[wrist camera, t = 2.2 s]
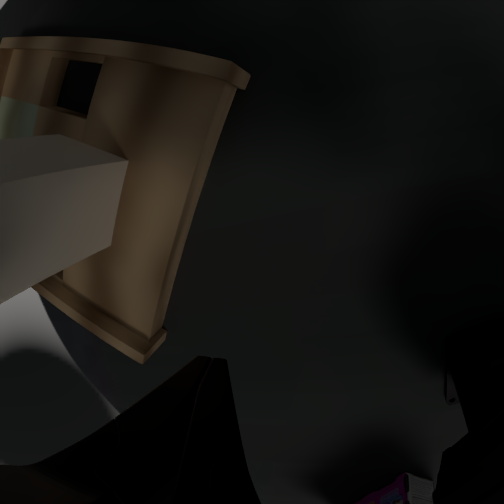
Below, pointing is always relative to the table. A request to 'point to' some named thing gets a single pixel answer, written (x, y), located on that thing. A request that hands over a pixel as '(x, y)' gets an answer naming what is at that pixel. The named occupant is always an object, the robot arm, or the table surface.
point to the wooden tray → (138, 170)
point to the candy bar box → (402, 491)
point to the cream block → (53, 206)
